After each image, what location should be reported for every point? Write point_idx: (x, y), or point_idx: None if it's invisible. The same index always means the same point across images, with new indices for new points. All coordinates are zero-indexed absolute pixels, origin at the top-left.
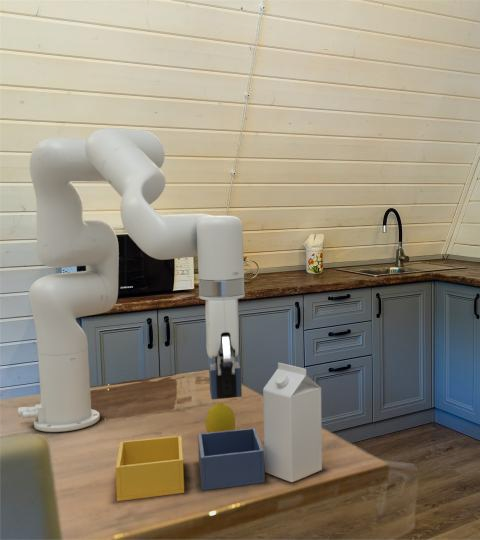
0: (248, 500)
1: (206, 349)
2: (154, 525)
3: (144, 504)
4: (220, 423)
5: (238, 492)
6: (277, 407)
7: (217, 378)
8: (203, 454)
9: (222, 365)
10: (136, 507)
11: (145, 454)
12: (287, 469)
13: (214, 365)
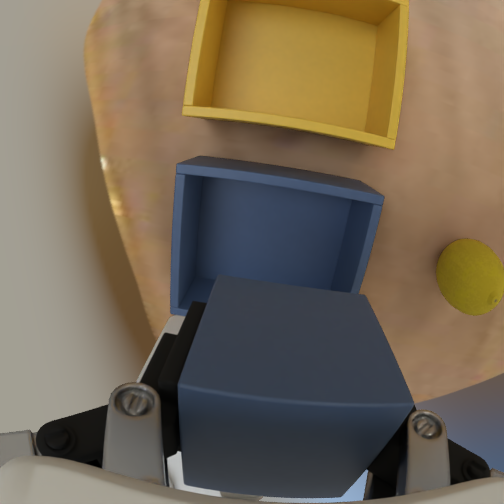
0: (124, 231)
1: (461, 492)
2: (91, 66)
3: (183, 42)
4: (450, 273)
5: (163, 222)
6: None
7: (164, 371)
8: (199, 173)
9: (39, 438)
10: (176, 29)
11: (383, 58)
12: (171, 326)
13: (336, 429)
